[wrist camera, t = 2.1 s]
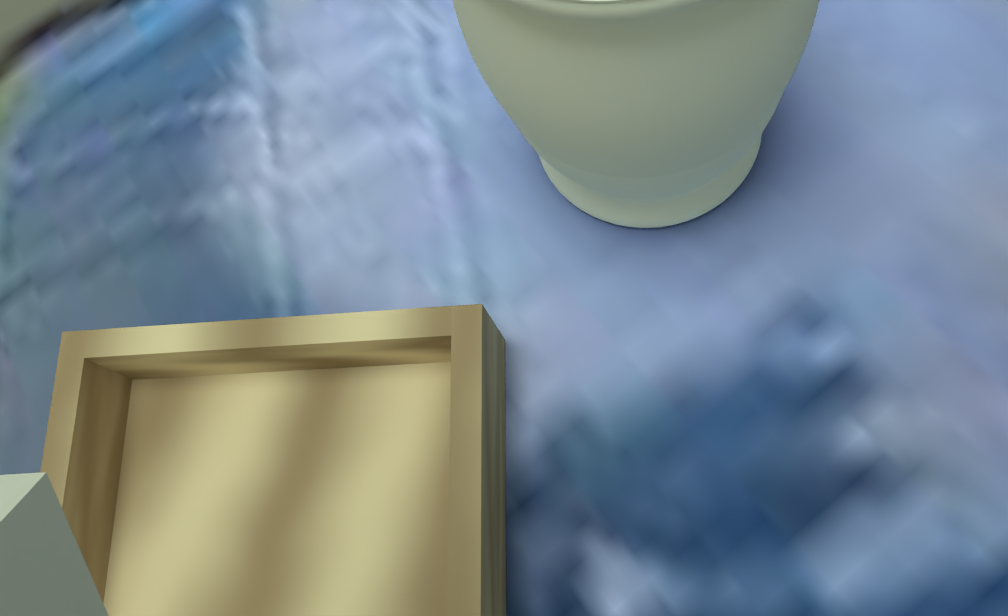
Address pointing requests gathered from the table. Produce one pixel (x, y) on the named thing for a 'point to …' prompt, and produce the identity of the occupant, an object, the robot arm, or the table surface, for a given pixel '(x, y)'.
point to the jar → (640, 93)
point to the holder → (287, 464)
